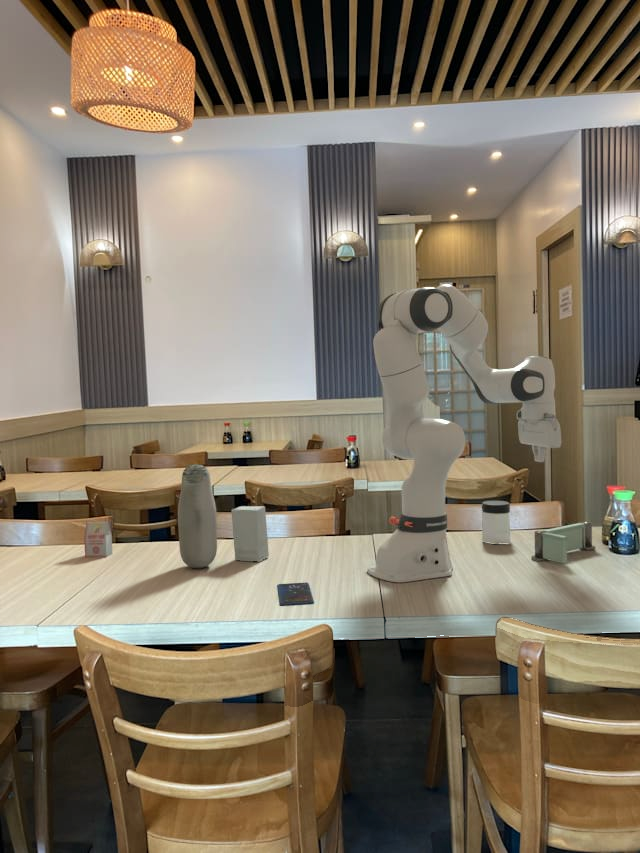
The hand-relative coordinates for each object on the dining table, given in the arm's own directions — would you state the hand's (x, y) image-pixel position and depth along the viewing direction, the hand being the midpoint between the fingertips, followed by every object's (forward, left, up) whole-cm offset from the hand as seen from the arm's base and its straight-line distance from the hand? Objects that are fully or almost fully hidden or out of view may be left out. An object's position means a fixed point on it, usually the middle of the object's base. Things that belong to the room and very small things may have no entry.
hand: (539, 461), depth 177 cm
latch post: (-10, -8, -25) cm, 28 cm away
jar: (-4, +13, -25) cm, 29 cm away
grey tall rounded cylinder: (-88, +41, -25) cm, 100 cm away
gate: (0, -8, -24) cm, 26 cm away
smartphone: (-78, +5, -26) cm, 82 cm away
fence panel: (-10, -13, -25) cm, 30 cm away
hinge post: (+10, -8, -25) cm, 28 cm away
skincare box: (-73, +40, -25) cm, 87 cm away
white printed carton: (-108, +72, -25) cm, 132 cm away
